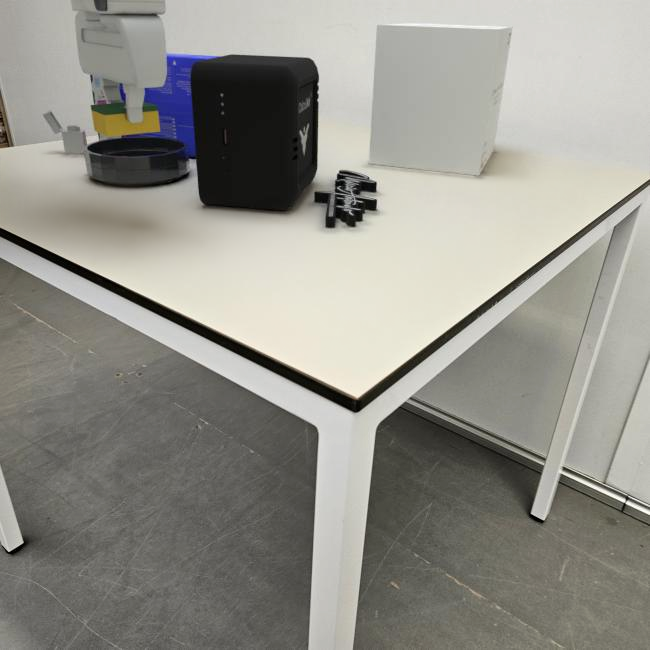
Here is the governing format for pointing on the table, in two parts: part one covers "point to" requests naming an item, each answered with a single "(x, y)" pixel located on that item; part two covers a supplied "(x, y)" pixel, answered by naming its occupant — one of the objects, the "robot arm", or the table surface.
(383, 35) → the cube
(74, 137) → the lighter
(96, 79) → the candy bar box
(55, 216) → the table surface
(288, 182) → the black computer case
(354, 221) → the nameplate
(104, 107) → the sponge
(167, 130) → the blue box
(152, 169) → the bowl
